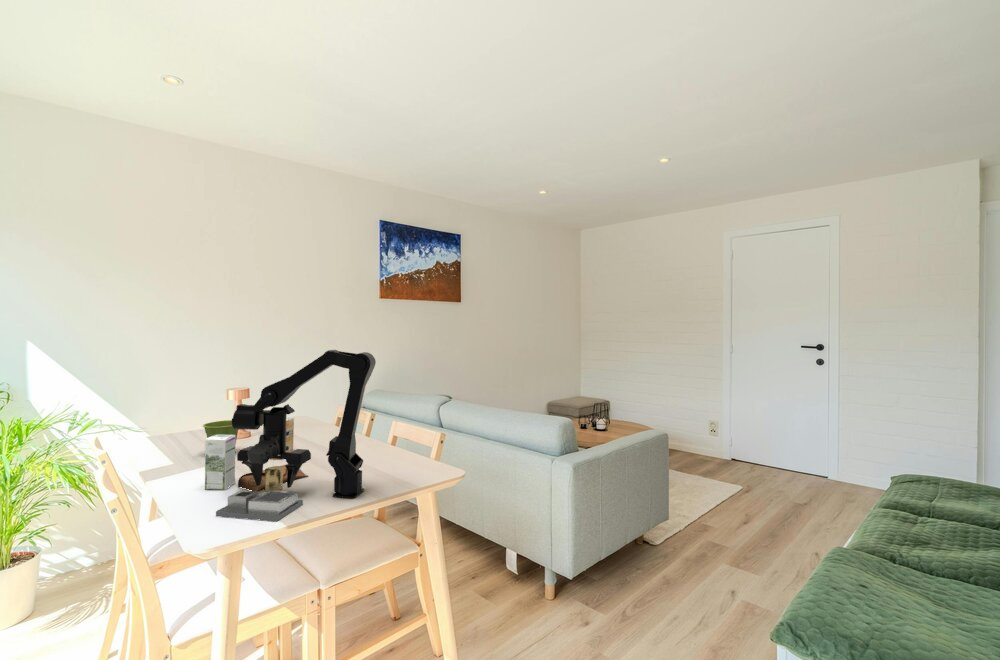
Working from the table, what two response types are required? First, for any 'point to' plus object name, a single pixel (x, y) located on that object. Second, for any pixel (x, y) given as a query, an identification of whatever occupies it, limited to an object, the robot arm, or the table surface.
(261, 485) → the sunglasses case
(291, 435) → the supplement box
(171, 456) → the table surface
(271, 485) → the brass fitting
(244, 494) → the grey fixture block
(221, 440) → the syrup box
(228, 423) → the plant pot
